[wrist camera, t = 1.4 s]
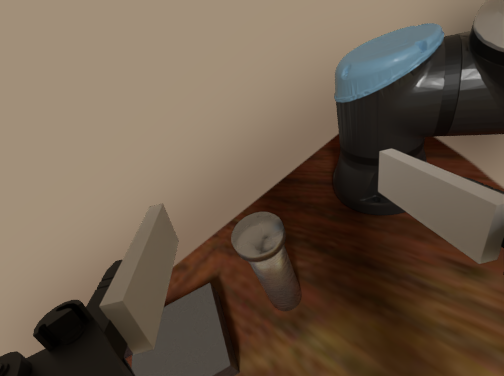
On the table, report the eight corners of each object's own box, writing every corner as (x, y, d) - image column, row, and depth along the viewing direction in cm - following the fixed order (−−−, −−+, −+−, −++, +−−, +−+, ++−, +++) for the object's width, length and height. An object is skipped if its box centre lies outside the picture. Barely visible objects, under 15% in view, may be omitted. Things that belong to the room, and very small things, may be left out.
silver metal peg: (293, 269, 36) (269, 204, 27) (313, 302, 31) (293, 237, 23) (260, 287, 35) (225, 227, 27) (276, 324, 31) (240, 265, 22)
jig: (217, 292, 37) (209, 282, 35) (239, 372, 28) (230, 365, 26) (79, 366, 34) (63, 360, 33) (56, 478, 26) (33, 478, 24)
